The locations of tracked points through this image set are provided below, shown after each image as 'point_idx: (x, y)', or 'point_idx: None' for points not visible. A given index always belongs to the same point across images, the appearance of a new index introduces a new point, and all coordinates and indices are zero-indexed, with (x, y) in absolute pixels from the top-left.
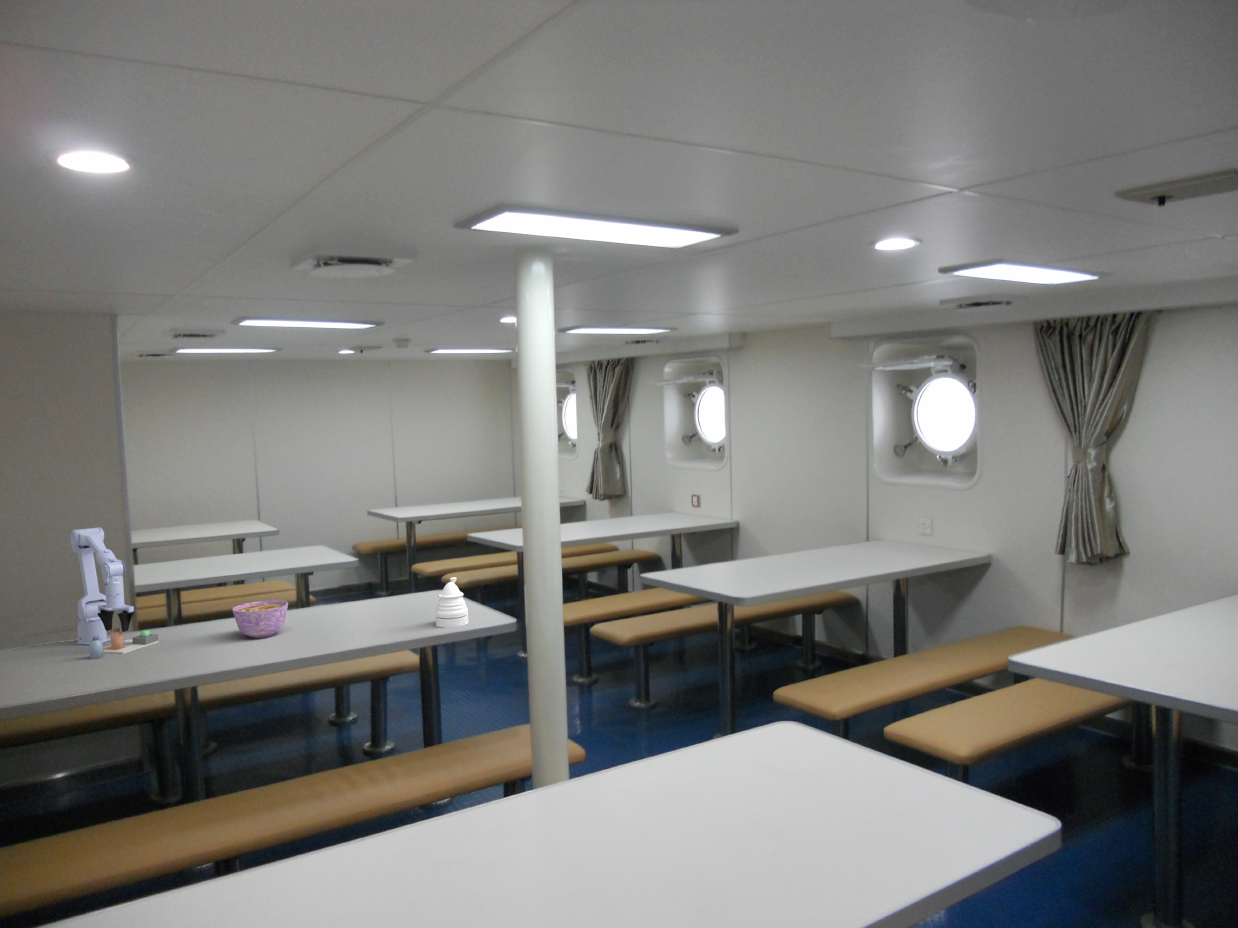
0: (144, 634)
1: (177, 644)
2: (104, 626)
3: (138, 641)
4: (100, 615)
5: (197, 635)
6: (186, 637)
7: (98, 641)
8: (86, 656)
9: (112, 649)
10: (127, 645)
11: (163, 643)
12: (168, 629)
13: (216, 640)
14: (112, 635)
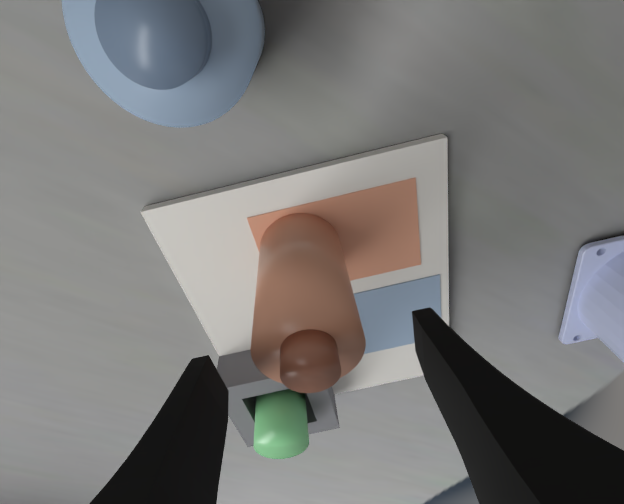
0: (260, 416)
1: (95, 419)
2: (452, 336)
3: None
4: (580, 482)
5: None
6: None
7: (74, 19)
8: (356, 9)
9: (297, 213)
10: None
11: None
12: (433, 484)
13: (16, 497)
14: (292, 283)
